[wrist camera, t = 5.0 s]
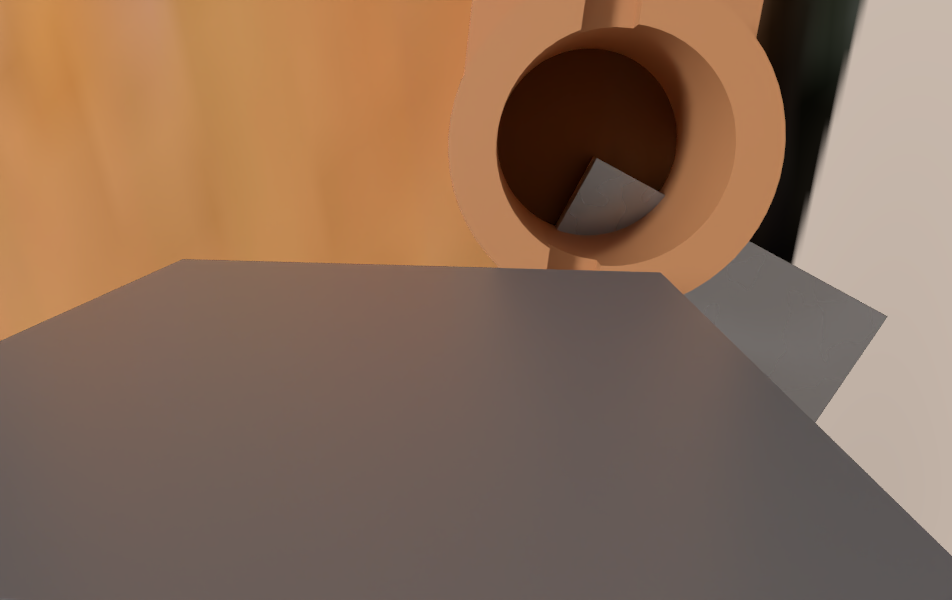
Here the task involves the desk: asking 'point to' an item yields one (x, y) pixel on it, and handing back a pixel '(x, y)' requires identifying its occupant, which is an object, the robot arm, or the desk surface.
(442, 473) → the squarish grey box
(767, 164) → the bracket
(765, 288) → the shaft base
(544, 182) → the desk surface
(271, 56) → the desk surface
